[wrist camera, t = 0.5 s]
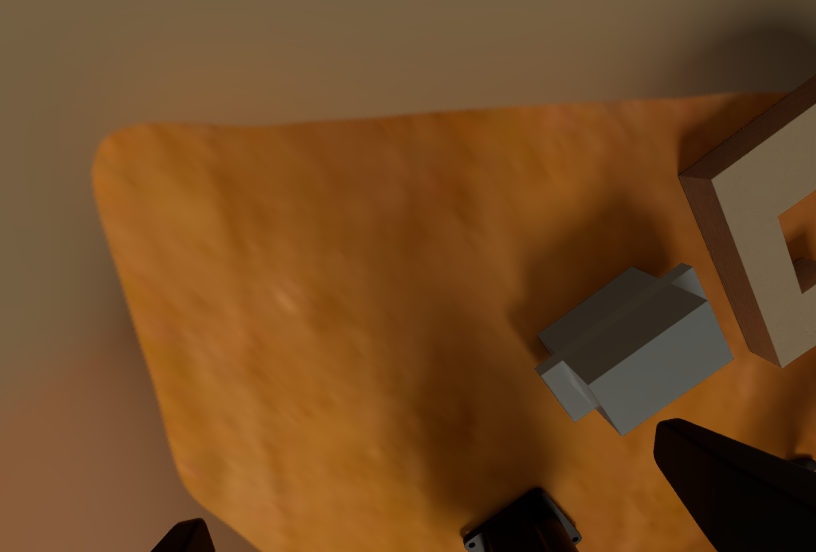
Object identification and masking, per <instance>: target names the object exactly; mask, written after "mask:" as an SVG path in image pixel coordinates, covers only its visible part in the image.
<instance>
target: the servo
mask: <svg viewBox="0 0 816 552" xmlns="http://www.w3.org/2000/svg"><path fill="white" fill-rule="evenodd" d="M537 336H538V337H539V339H540V340H541V341H542V343H543V344H544V346H545V347H546V349H547V350H548V352H549V353H550V355H551V357H550V358H548V359H547V360H546V361H544V362H543V363H541V364H540V365H539V366H537V367H536V368H535V370H536V371H537V373H538V374H539V375H540V377H541V378H542V379H543V381H544V382H545V384H546V385H547V386H548V388H549V389H550V391H551V392H552V393H553V395H554V396H555V397H556V399H557V400H558V402H559V403H560V404H561V406H562V407H563V409H564V410H565V411H566V413H567V414H568V415H569V416H570V418H571V419H572V420H573V421H574V422H576V421H578V420H579V419H581V418H582V417H584V416H585V415H586V414H588V413H589V412H591V411H592V410H594V409H596V410H597V411H598V412H599V413H600V414H601V415H602V416H603V417H604V418H605V419H606V420H607V421H608V422H609V423H610V424H611V426H612V427H613V428H614V429H615V430H616V431H617V432H618V433H619V434H620V435H621V436H624V435H625V434H626V433H628V432H629V431H631V430H632V429H634V428H635V427H637V426H638V425H639V424H641V423H642V422H644V421H645V420H647V419H648V418H649V417H651V416H652V415H654V414H655V413H657V412H658V411H660V410H661V409H662V408H664V407H665V406H667V405H668V404H670V403H671V402H673V401H674V400H675V399H677V398H678V397H680V396H681V395H683V394H684V393H686V392H687V391H688V390H690V389H691V388H693V387H694V386H696V385H697V384H699V383H700V382H701V381H703V380H704V379H706V378H707V377H709V376H710V375H712V374H713V373H714V372H716V371H717V370H719V369H720V368H722V367H723V366H725V365H726V364H727V363H729V362H730V361H732V360H733V359H734V358H733V356H732V353H731V351H730V349H729V346H728V344H727V342H726V340H725V337H724V335H723V333H722V331H721V328H720V326H719V324H718V321H717V319H716V317H715V315H714V312H713V310H712V308H711V306H710V303H709V301H708V300H707V298H706V296H705V293H704V291H703V289H702V286H701V284H700V282H699V280H698V277H697V275H696V273H695V270H694V268H693V267H692V266H689V265H686V264H684V263H681V264H679V265H678V266H676V267H675V268H674V269H672V270H671V271H670V272H668V273H667V274H665V275H664V276H663V277H661V278H660V279H659V278H657V277H655V276H652V275H650V274H648V273H646V272H643V271H641V270H639V269H637V268H634V267H630V268H629V269H627V270H626V271H625V272H623V273H622V274H621V275H619V276H618V277H616V278H615V279H614V280H612V281H611V282H610V283H608V284H607V285H605V286H604V287H603V288H601V289H600V290H598V291H597V292H596V293H594V294H593V295H592V296H590V297H589V298H587V299H586V300H585V301H583V302H582V303H581V304H579V305H578V306H576V307H575V308H574V309H572V310H571V311H569V312H568V313H567V314H565V315H564V316H563V317H561V318H560V319H558V320H557V321H556V322H554V323H553V324H552V325H550V326H549V327H547V328H546V329H545V330H543V331H542V332H541V333H539V334H538V335H537Z"/></svg>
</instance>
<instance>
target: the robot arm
mask: <svg viewBox="0 0 816 552" xmlns="http://www.w3.org/2000/svg"><path fill="white" fill-rule="evenodd" d="M653 454H654V459H655V461H656V464H657V465H658V467H659V469H660V470H661V471H662V473H663V474H664V476H665V477H666V479H667V480H668V482H669V483H670V485H671V486H672V488H673V489H674V491H675V492H676V493H677V495H678V496H679V498H680V499H681V501H682V502H683V504H684V505H685V507H686V508H687V510H688V511H689V513H690V514H691V516H692V517H693V518H694V520H695V521H696V523H697V524H698V526H699V527H700V529H701V530H702V531H703V533H704V534H705V536H706V537H707V538H708V540H709V541H710V542H711V544H712V545H713V546H714V548H715V549H716V550H717V551H718V552H816V472H814V471H812V470H809V469H807V468H804V467H802V466H799V465H797V464H794V463H792V462H789V461H787V460H784V459H782V458H779V457H777V456H774V455H772V454H769V453H766V452H764V451H761V450H759V449H756V448H754V447H751V446H749V445H746V444H744V443H741V442H739V441H736V440H734V439H731V438H729V437H726V436H724V435H721V434H719V433H716V432H713V431H711V430H708V429H706V428H703V427H701V426H698V425H696V424H693V423H691V422H688V421H686V420H683V419H680V418H673V419H669V420H664V421H660V422H659V423H658V424H657V427H656V434H655V442H654V450H653ZM581 539H582V537H581V535H580V533H579V531H578V530H577V529H576V528H575V527H574V525H573V524H572V523H571V522H570V521H569V519H568V518H567V517H566V516H565V515H564V514H563V512H562V511H561V510H560V509H559V508H558V507H557V505H556V504H555V503H554V502H553V501H552V500H551V498H550V497H549V496H548V495H547V494H546V493H545V491H544V490H543V489H541V488H535V489H533V490H532V491H530V492H529V493H527V494H526V495H525V496H523V497H522V498H520V499H519V500H517V501H516V502H514V503H513V504H512V505H510V506H509V507H507V508H506V509H504V510H503V511H501V512H500V513H499V514H497V515H496V516H494V517H493V518H491V519H490V520H488V521H487V522H486V523H484V524H483V525H481V526H480V527H478V528H477V529H476V530H474V531H473V532H471V533H470V534H468V535H467V536H466V537H465V538H464V539H463V543H464V546H465V549H466V550H467V551H468V552H579V551H578V550H577V548H576V546H575V545H576V544H578V543H579V542H580V541H581ZM151 552H215V548H214V545H213V542H212V539H211V536H210V534H209V531H208V528H207V525H206V523H205V521H204V520H203V519H202V518H195V519H191V520H186V521H181V522H179V523H177V524H176V525H175V526H174V527H173V528H172V529H171V530H170V531H169V532H168V533H167V534H166V535H165V536H164V538H163V539H162V540H161V541H160V542H159V543H158V544H157V545H156V546H155V547H154V549H153V550H152V551H151Z"/></svg>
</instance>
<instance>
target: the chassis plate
mask: <svg viewBox="0 0 816 552" xmlns="http://www.w3.org/2000/svg"><path fill="white" fill-rule="evenodd" d="M678 177H679V179H680V181H681V184H682V186H683V189H684V191H685V194H686V196H687V198H688V201H689V203H690V206H691V208H692V211H693V213H694V216H695V218H696V220H697V223H698V225H699V228H700V230H701V233H702V235H703V237H704V240H705V242H706V245H707V247H708V250H709V252H710V255H711V257H712V259H713V262H714V264H715V267H716V269H717V272H718V274H719V276H720V279H721V281H722V284H723V286H724V289H725V291H726V294H727V296H728V298H729V301H730V303H731V306H732V308H733V311H734V313H735V315H736V318H737V320H738V323H739V325H740V328H741V330H742V333H743V335H744V337H745V340H746V342H747V345H748V347H749V350H750V352H752V353H754V354H756V355H758V356H760V357H761V358H763V359H765V360H767V361H769V362H771V363H773V364H775V365H777V366H779V367H781V368H783V367H785V366H786V365H787V364H789V363H790V362H792V361H793V360H795V359H796V358H798V357H799V356H801V355H802V354H804V353H805V352H806V351H808V350H809V349H811V348H812V347H814V346H815V345H816V261H814V260H810V259H806V258H803V257H802V258H800V259H799V260H797V261H796V262H794V263H793V264H792V261H791V258H790V255H789V252H788V248H787V245H786V242H785V239H784V236H783V233H782V229H781V226H780V223H779V220H778V216H779V215H780V214H782V213H783V212H785V211H786V210H787V209H789V208H790V207H792V206H793V205H794V204H796V203H797V202H799V201H800V200H801V199H803V198H804V197H806V196H807V195H808V194H810V193H811V192H813V191H814V190H815V189H816V75H815V76H813V77H812V78H811V79H809V80H808V81H807V82H805V83H804V84H802V86H800V87H798V88H797V89H796V90H794V91H793V92H792V93H790V94H789V95H788V96H786V97H785V98H783V99H782V100H781V101H779V102H778V103H777V104H775V105H774V106H773V107H771V108H770V109H768V110H767V111H766V112H764V113H763V114H762V115H760V116H759V117H758V118H756V119H755V120H754V121H752V122H751V123H749V124H748V125H747V126H745V127H744V128H743V129H741V130H740V131H739V132H737V133H736V134H734V135H733V136H732V137H730V138H729V139H728V140H726V141H725V142H724V143H722V144H721V145H720V146H718V147H717V148H715V149H714V150H713V151H711V152H710V153H709V154H707V155H706V156H705V157H703V158H702V159H700V160H699V161H698V162H696V163H695V164H694V165H692V166H691V167H690V168H688V169H687V170H686V171H684V172H683V173H681V174H680V175H679V176H678Z"/></svg>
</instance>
